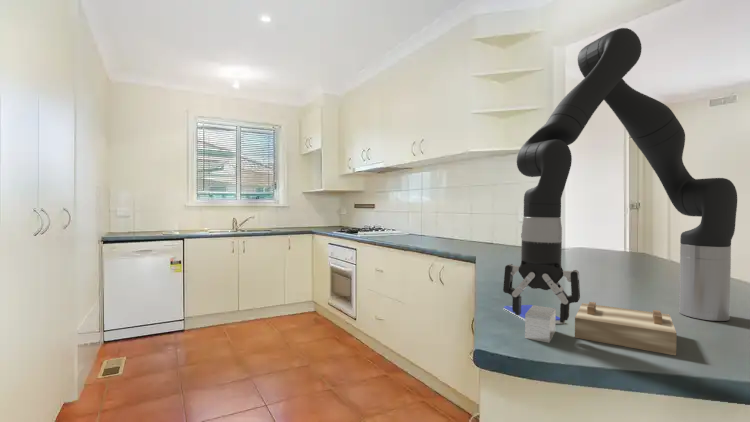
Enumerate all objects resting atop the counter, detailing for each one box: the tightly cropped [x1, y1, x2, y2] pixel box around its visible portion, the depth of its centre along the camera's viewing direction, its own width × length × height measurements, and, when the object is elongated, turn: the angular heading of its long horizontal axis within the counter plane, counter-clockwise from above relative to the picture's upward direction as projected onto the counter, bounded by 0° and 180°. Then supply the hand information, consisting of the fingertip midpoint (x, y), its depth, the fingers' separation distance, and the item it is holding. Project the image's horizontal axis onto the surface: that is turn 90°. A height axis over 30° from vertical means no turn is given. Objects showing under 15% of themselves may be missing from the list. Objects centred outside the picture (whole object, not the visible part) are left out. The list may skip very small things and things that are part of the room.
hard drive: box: [503, 304, 566, 325], centre depth 91 cm, size 2×8×12 cm
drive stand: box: [574, 301, 678, 356], centre depth 77 cm, size 14×16×6 cm
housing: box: [524, 304, 557, 344], centre depth 78 cm, size 8×4×5 cm, turn 147°
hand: (539, 318), depth 78 cm, fingers open, 8 cm apart
